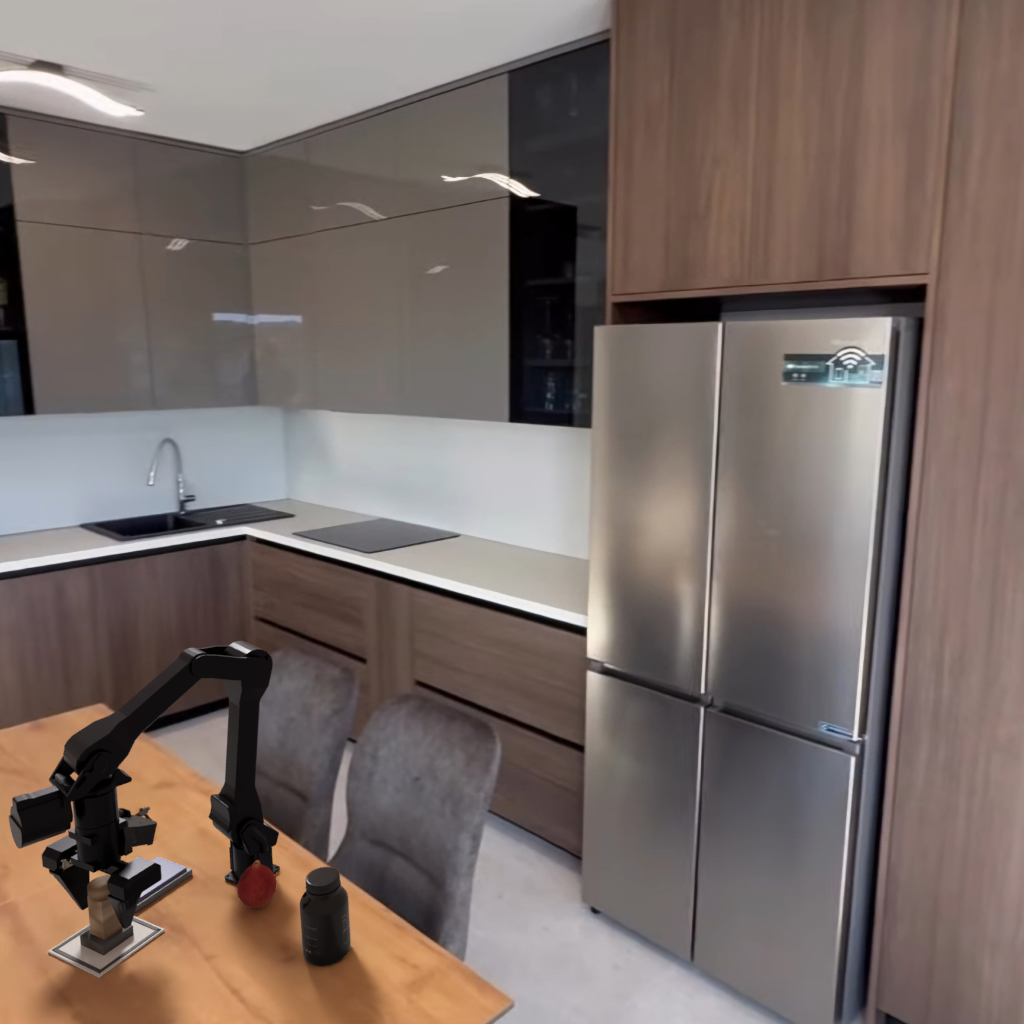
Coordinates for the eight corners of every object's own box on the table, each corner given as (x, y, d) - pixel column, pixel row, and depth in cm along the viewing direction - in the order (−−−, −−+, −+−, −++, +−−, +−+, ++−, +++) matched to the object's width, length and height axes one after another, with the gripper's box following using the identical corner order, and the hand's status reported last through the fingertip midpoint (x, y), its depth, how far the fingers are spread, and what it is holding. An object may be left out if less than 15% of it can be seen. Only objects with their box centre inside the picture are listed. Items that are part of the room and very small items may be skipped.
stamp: (133, 934, 122) (129, 878, 121) (103, 955, 118) (98, 897, 117) (110, 924, 125) (106, 869, 123) (80, 944, 120) (75, 887, 119)
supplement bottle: (330, 929, 124) (327, 856, 122) (360, 949, 120) (358, 873, 118) (292, 954, 119) (288, 877, 117) (322, 975, 115) (318, 897, 113)
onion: (237, 922, 126) (235, 874, 124) (239, 899, 131) (236, 853, 130) (277, 916, 127) (275, 868, 126) (277, 893, 133) (275, 847, 131)
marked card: (164, 930, 124) (164, 928, 124) (99, 977, 114) (98, 975, 114) (115, 909, 129) (114, 907, 129) (48, 952, 119) (47, 950, 119)
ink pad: (192, 874, 138) (191, 866, 137) (136, 912, 128) (135, 903, 128) (158, 861, 141) (158, 853, 141) (101, 897, 132) (100, 889, 131)
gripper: (188, 808, 121) (195, 904, 124) (103, 780, 129) (111, 871, 132) (122, 846, 111) (131, 950, 114) (34, 813, 120) (44, 911, 122)
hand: (105, 917), depth 121 cm, fingers open, 9 cm apart
